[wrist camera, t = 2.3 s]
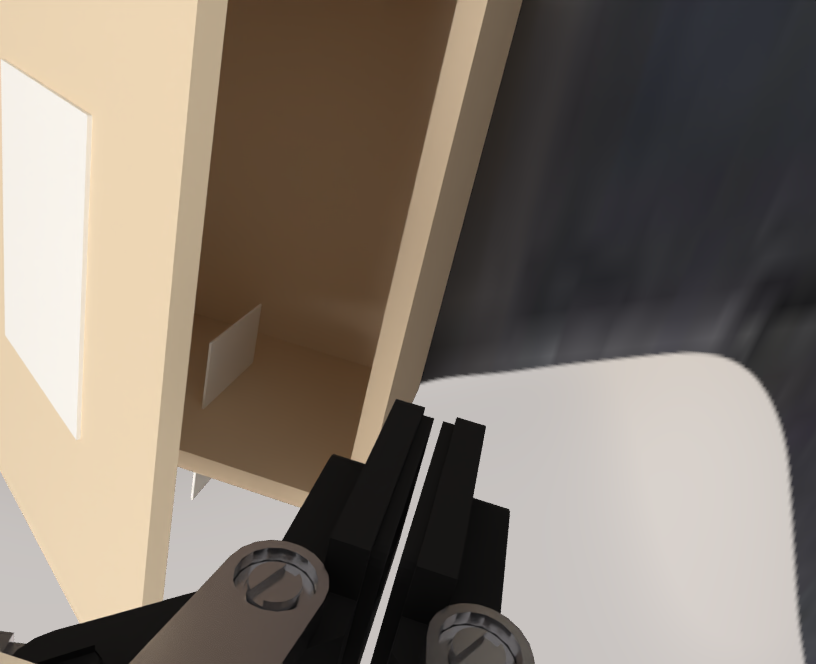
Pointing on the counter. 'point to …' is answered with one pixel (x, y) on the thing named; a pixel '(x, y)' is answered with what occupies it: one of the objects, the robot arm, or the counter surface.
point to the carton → (330, 225)
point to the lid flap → (101, 276)
